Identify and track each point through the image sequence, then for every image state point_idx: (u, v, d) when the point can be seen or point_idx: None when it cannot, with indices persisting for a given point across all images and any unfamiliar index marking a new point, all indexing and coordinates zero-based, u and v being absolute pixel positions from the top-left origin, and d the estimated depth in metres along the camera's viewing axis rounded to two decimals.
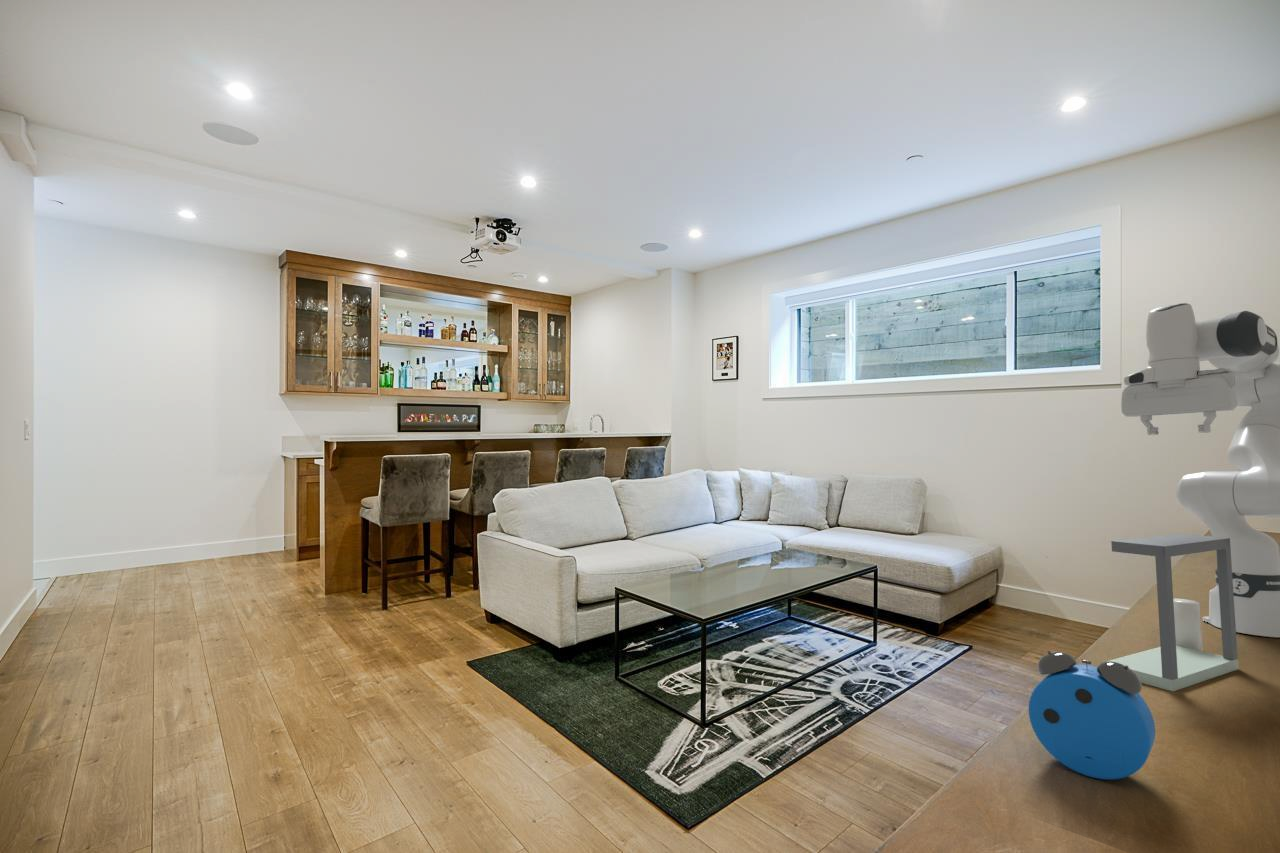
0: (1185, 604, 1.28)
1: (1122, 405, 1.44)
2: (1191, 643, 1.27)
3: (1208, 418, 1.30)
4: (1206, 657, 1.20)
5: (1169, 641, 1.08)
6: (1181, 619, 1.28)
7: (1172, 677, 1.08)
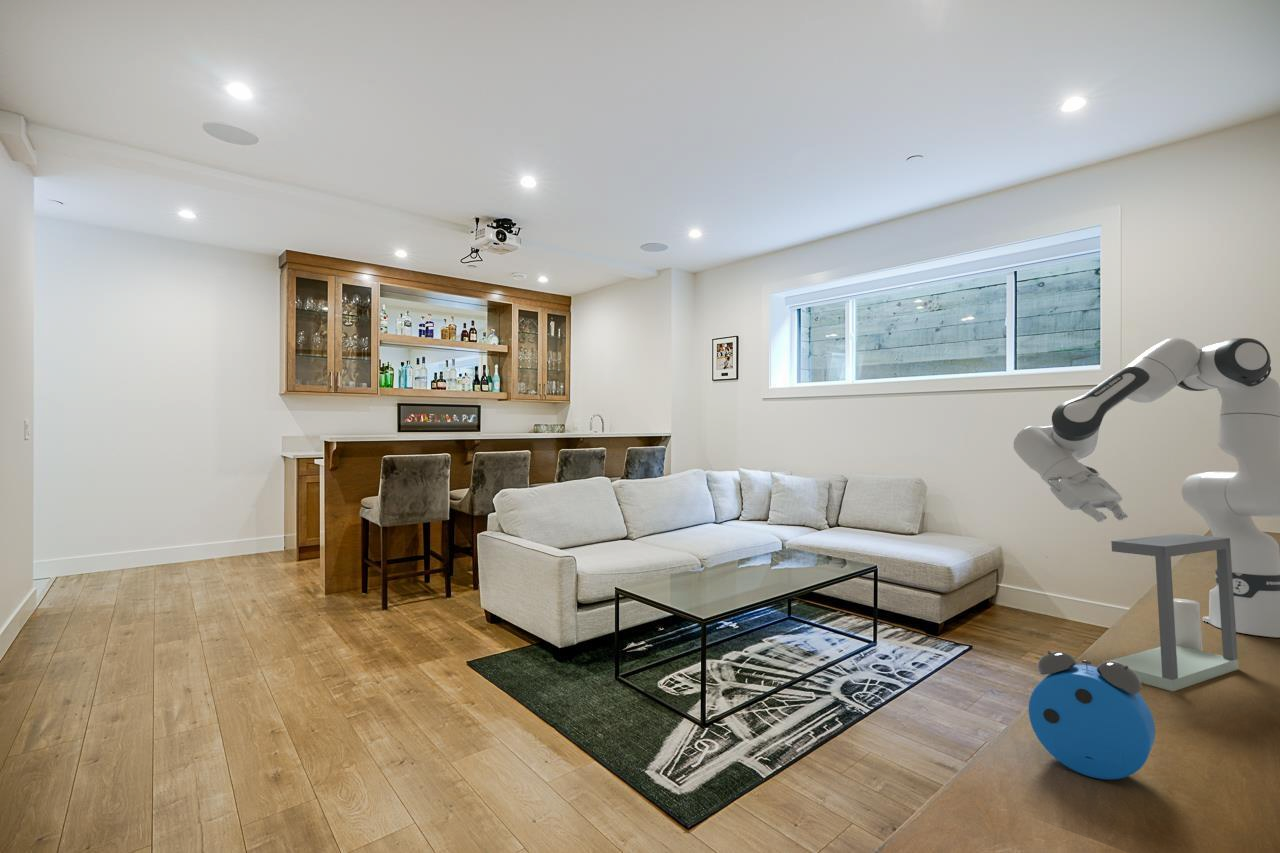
0: (1185, 604, 1.28)
1: None
2: (1191, 643, 1.27)
3: None
4: (1206, 657, 1.20)
5: (1169, 641, 1.08)
6: (1181, 619, 1.28)
7: (1172, 677, 1.08)
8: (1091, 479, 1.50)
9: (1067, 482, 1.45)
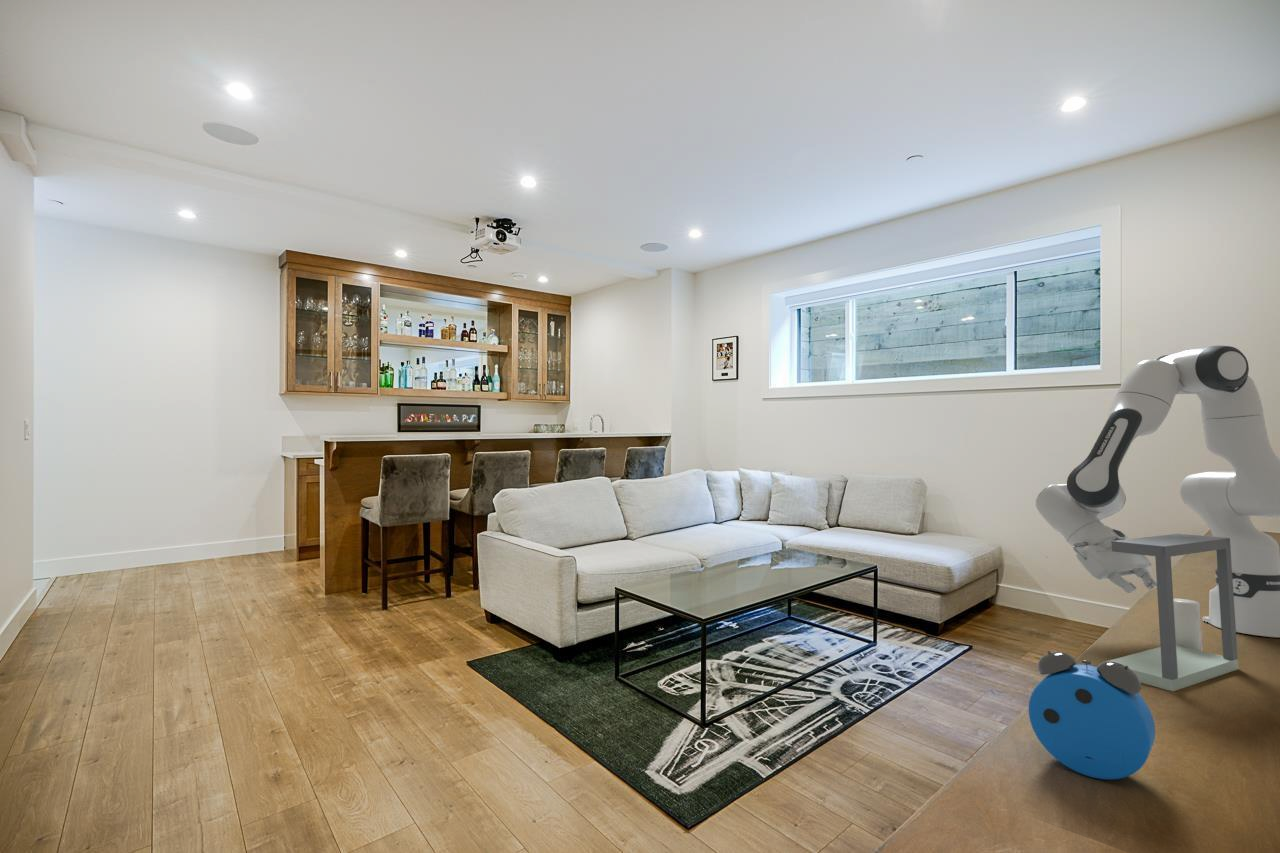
0: (1185, 604, 1.28)
1: None
2: (1191, 643, 1.27)
3: None
4: (1206, 657, 1.20)
5: (1169, 641, 1.08)
6: (1181, 619, 1.28)
7: (1172, 677, 1.08)
8: None
9: (1094, 549, 1.40)
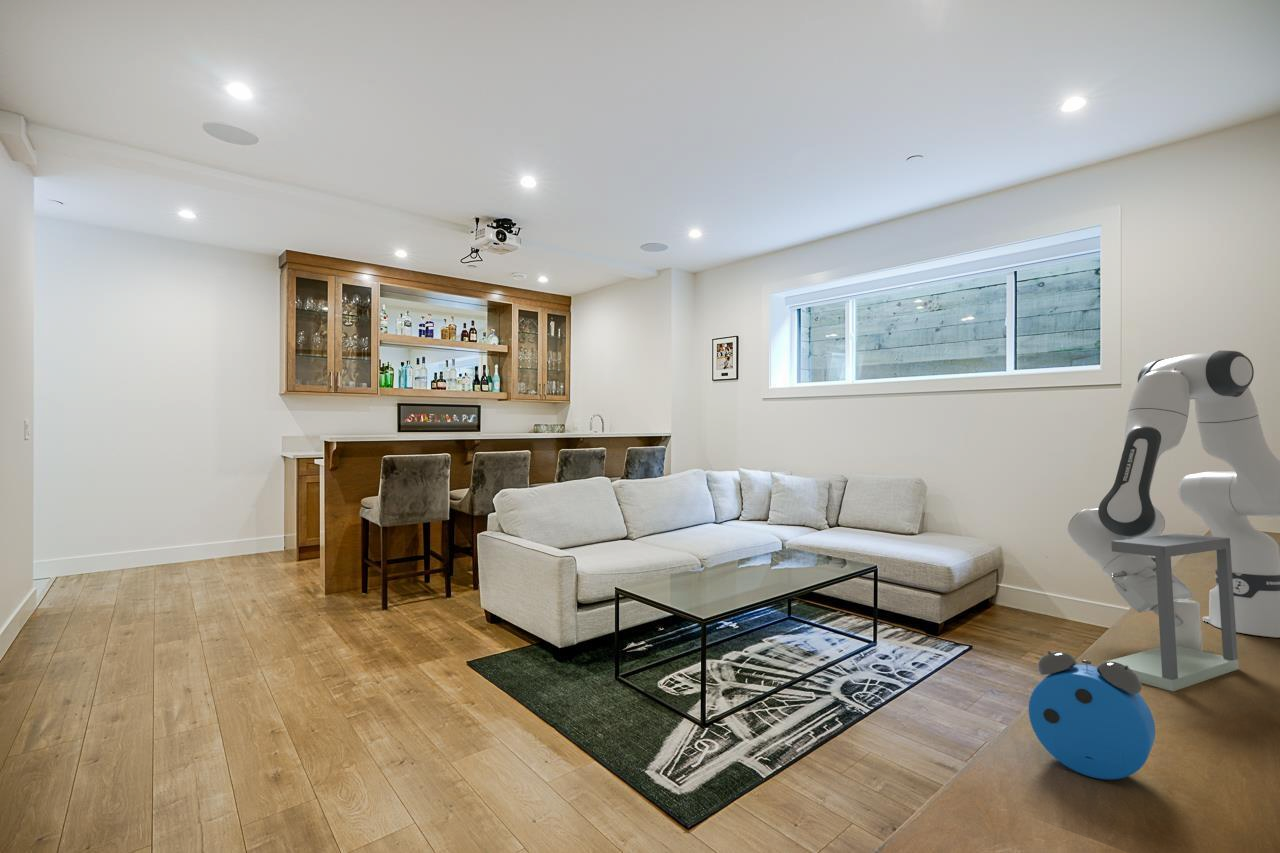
0: (1185, 604, 1.28)
1: None
2: (1192, 643, 1.27)
3: None
4: (1206, 657, 1.20)
5: (1169, 641, 1.08)
6: (1181, 619, 1.28)
7: (1172, 677, 1.08)
8: None
9: (1133, 580, 1.33)
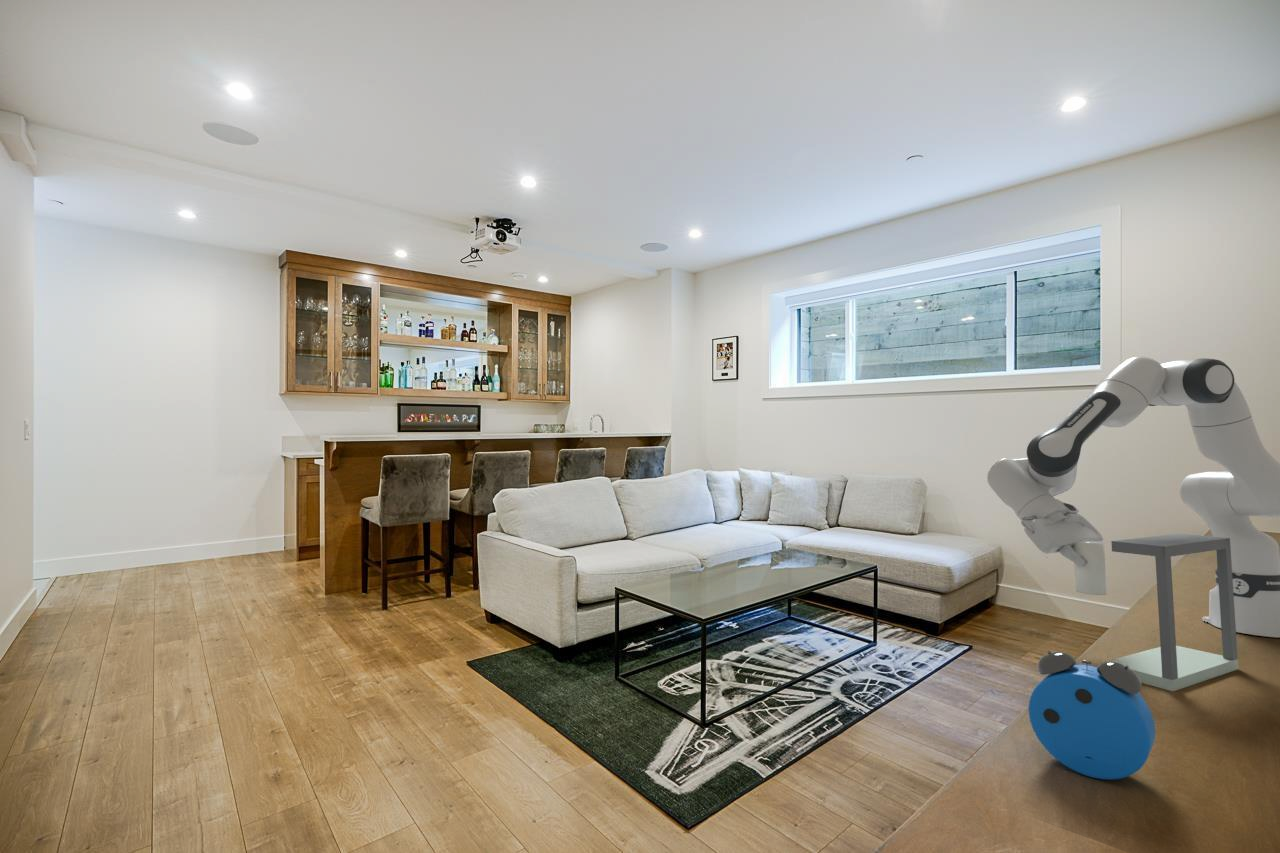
0: (1090, 544, 1.30)
1: None
2: (1095, 583, 1.29)
3: None
4: (1206, 657, 1.20)
5: (1169, 641, 1.08)
6: None
7: (1172, 677, 1.08)
8: (1069, 518, 1.39)
9: (1042, 522, 1.34)
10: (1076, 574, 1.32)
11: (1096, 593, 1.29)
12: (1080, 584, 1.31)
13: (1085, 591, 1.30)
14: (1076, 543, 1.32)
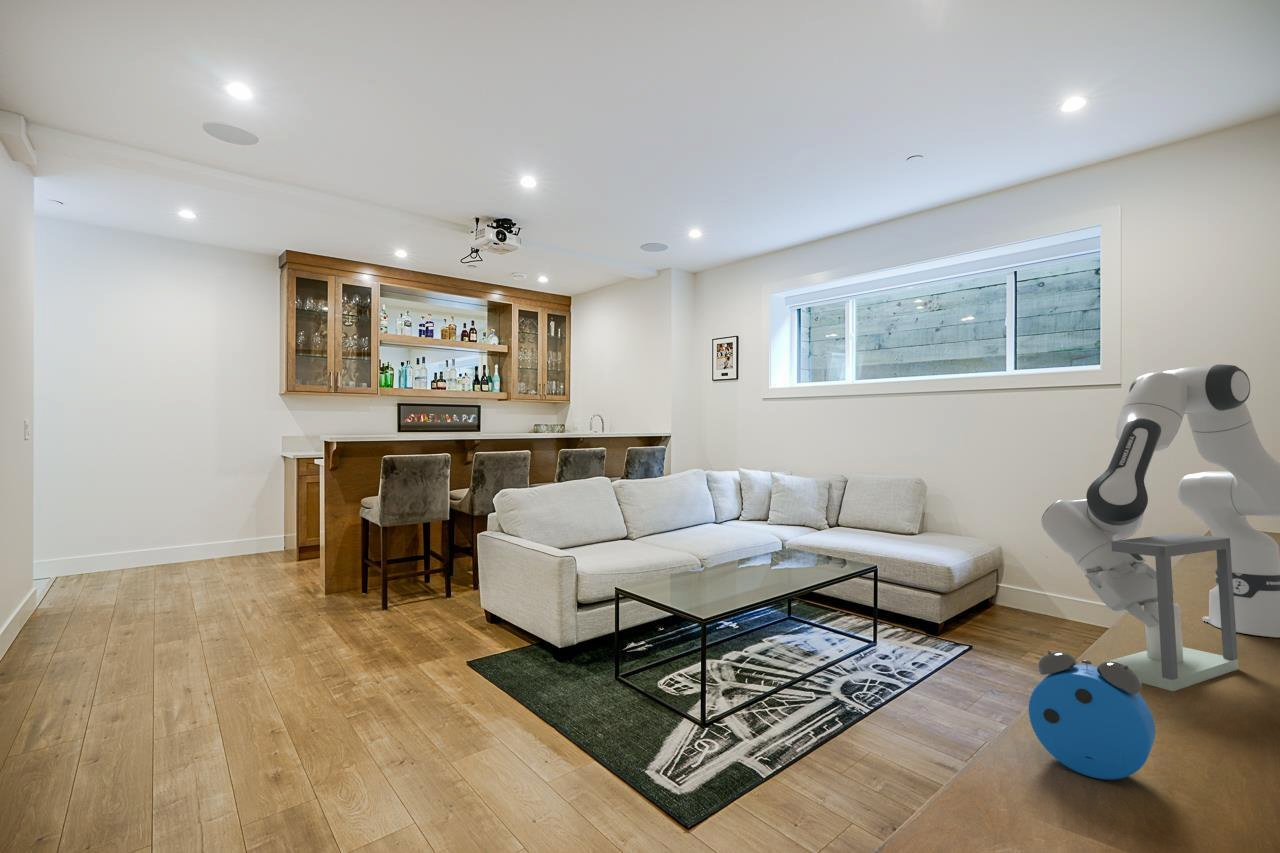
0: None
1: None
2: None
3: None
4: (1206, 657, 1.20)
5: (1169, 641, 1.08)
6: None
7: (1172, 677, 1.08)
8: (1136, 568, 1.27)
9: (1109, 576, 1.22)
10: (1148, 638, 1.20)
11: None
12: (1153, 650, 1.19)
13: (1159, 658, 1.18)
14: (1148, 604, 1.20)
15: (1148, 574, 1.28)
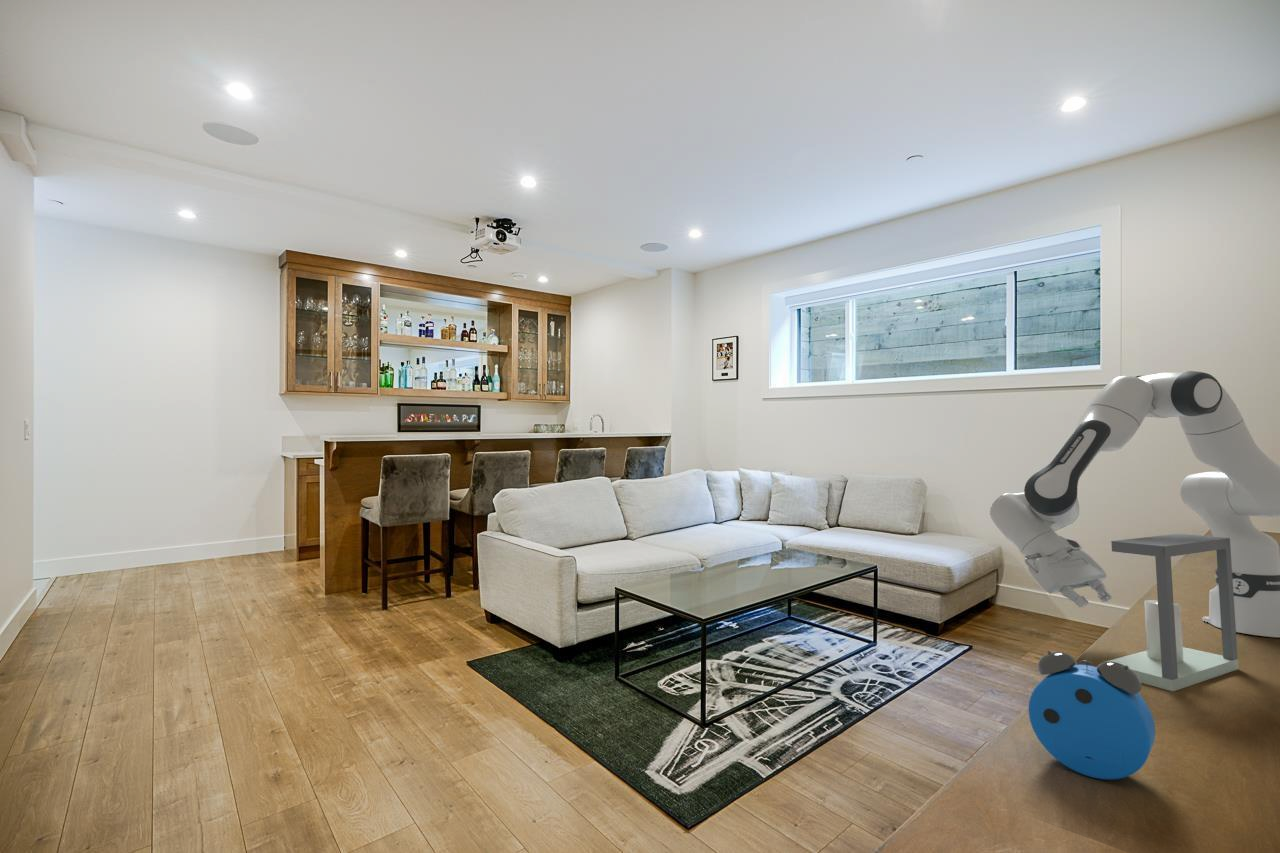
0: None
1: None
2: None
3: None
4: (1206, 657, 1.20)
5: (1169, 641, 1.08)
6: None
7: (1172, 677, 1.08)
8: (1072, 555, 1.39)
9: (1045, 561, 1.34)
10: (1148, 638, 1.20)
11: None
12: (1153, 650, 1.19)
13: (1159, 658, 1.18)
14: (1148, 604, 1.20)
15: (1084, 560, 1.40)
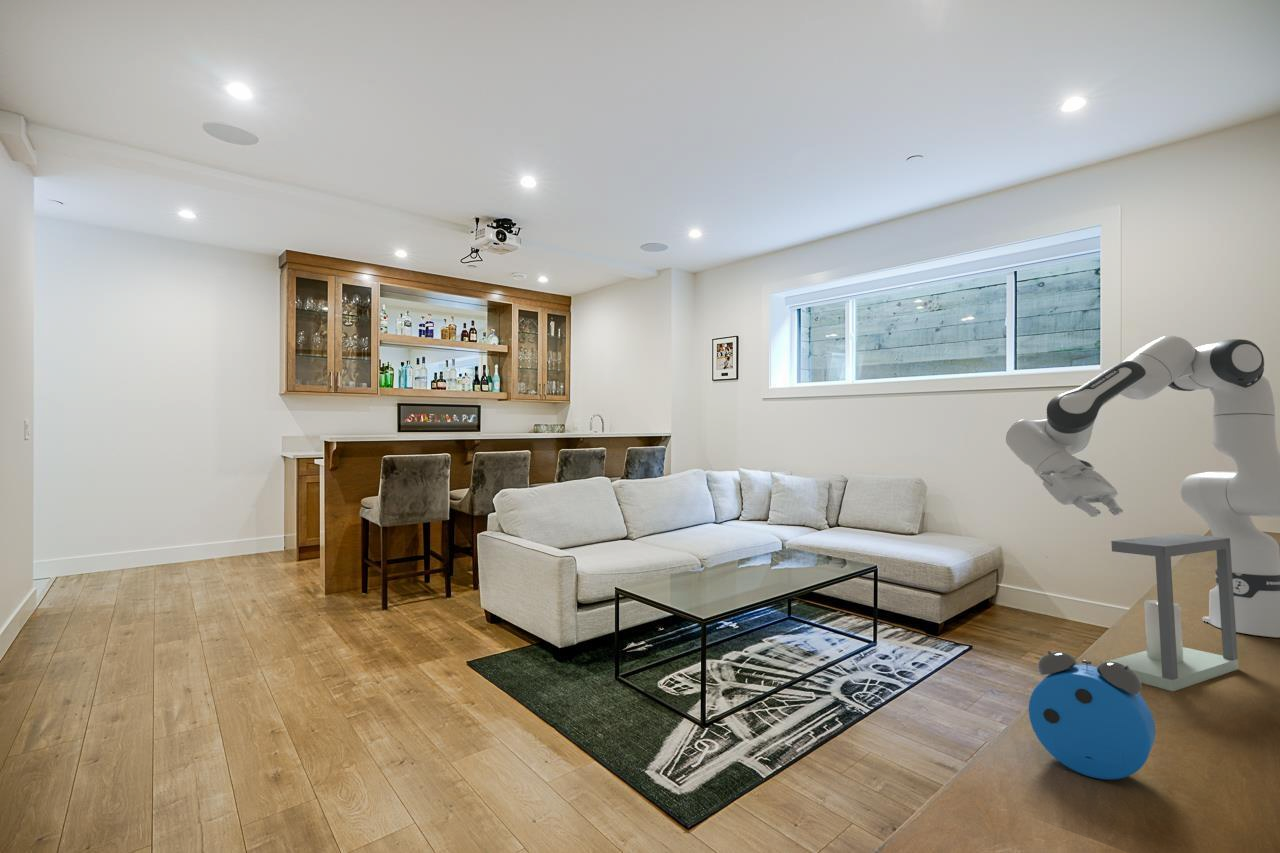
0: None
1: None
2: None
3: None
4: (1206, 657, 1.20)
5: (1169, 641, 1.08)
6: None
7: (1172, 677, 1.08)
8: (1085, 473, 1.46)
9: (1059, 476, 1.41)
10: (1148, 638, 1.20)
11: None
12: (1153, 650, 1.19)
13: (1159, 658, 1.18)
14: (1148, 604, 1.20)
15: (1096, 478, 1.47)
